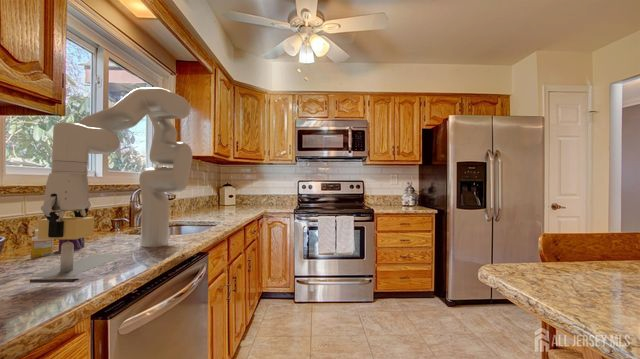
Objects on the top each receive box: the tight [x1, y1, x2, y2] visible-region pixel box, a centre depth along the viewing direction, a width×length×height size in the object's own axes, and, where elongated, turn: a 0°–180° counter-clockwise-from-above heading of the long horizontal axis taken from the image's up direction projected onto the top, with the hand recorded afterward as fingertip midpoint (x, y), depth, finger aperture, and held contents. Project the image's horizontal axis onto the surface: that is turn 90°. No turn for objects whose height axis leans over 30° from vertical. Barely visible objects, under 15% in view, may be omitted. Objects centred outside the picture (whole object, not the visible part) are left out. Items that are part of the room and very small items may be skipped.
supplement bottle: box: [30, 228, 55, 259], centre depth 96 cm, size 5×5×10 cm
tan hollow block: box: [37, 216, 95, 240], centre depth 79 cm, size 7×9×5 cm
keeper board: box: [29, 242, 126, 284], centre depth 86 cm, size 24×10×9 cm, turn 5°
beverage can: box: [58, 237, 86, 252], centre depth 106 cm, size 7×7×12 cm
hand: (67, 234), depth 79 cm, fingers closed on tan hollow block, 7 cm apart
